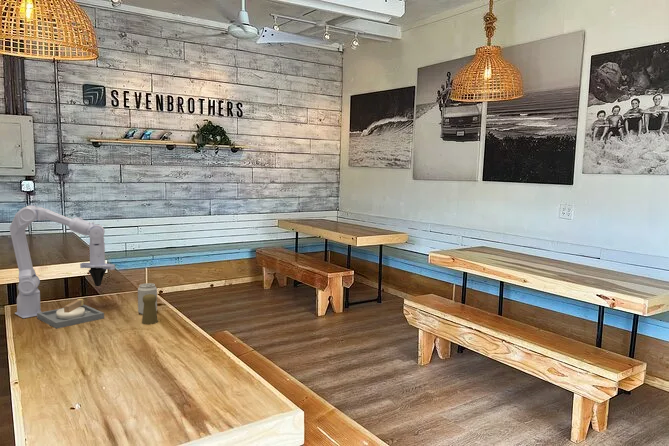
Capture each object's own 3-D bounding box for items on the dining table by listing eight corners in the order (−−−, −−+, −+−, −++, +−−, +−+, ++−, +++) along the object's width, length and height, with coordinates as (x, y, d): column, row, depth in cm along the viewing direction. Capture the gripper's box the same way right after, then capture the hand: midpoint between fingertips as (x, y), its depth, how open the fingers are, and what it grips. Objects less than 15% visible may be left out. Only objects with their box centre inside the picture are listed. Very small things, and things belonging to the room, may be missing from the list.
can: (153, 315, 206) (152, 287, 205) (135, 314, 206) (134, 286, 205) (159, 310, 213) (159, 282, 212) (142, 309, 213) (141, 282, 212)
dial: (51, 318, 194) (50, 307, 194) (69, 308, 207) (69, 298, 207) (76, 319, 194) (76, 308, 194) (93, 309, 207) (93, 299, 207)
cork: (160, 320, 200) (160, 293, 199) (153, 324, 194) (153, 297, 193) (146, 319, 201) (145, 292, 200) (138, 323, 195) (138, 296, 194)
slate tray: (37, 318, 198) (37, 313, 198) (83, 309, 212) (83, 304, 212) (56, 328, 187) (56, 322, 186) (104, 318, 201) (104, 312, 200)
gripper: (75, 254, 206) (76, 286, 208) (107, 256, 204) (108, 288, 206) (85, 251, 213) (86, 282, 215) (117, 253, 211) (118, 284, 213)
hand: (98, 285), depth 211 cm, fingers closed
